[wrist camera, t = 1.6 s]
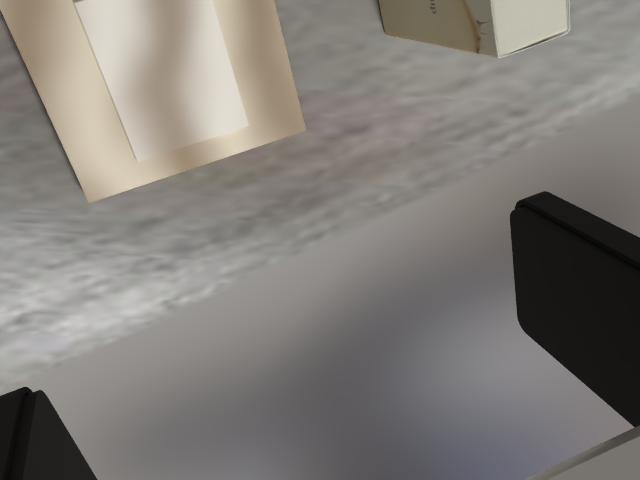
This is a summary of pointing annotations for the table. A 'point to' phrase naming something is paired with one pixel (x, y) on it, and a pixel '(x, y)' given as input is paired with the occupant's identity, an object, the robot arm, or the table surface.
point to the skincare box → (477, 23)
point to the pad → (156, 83)
